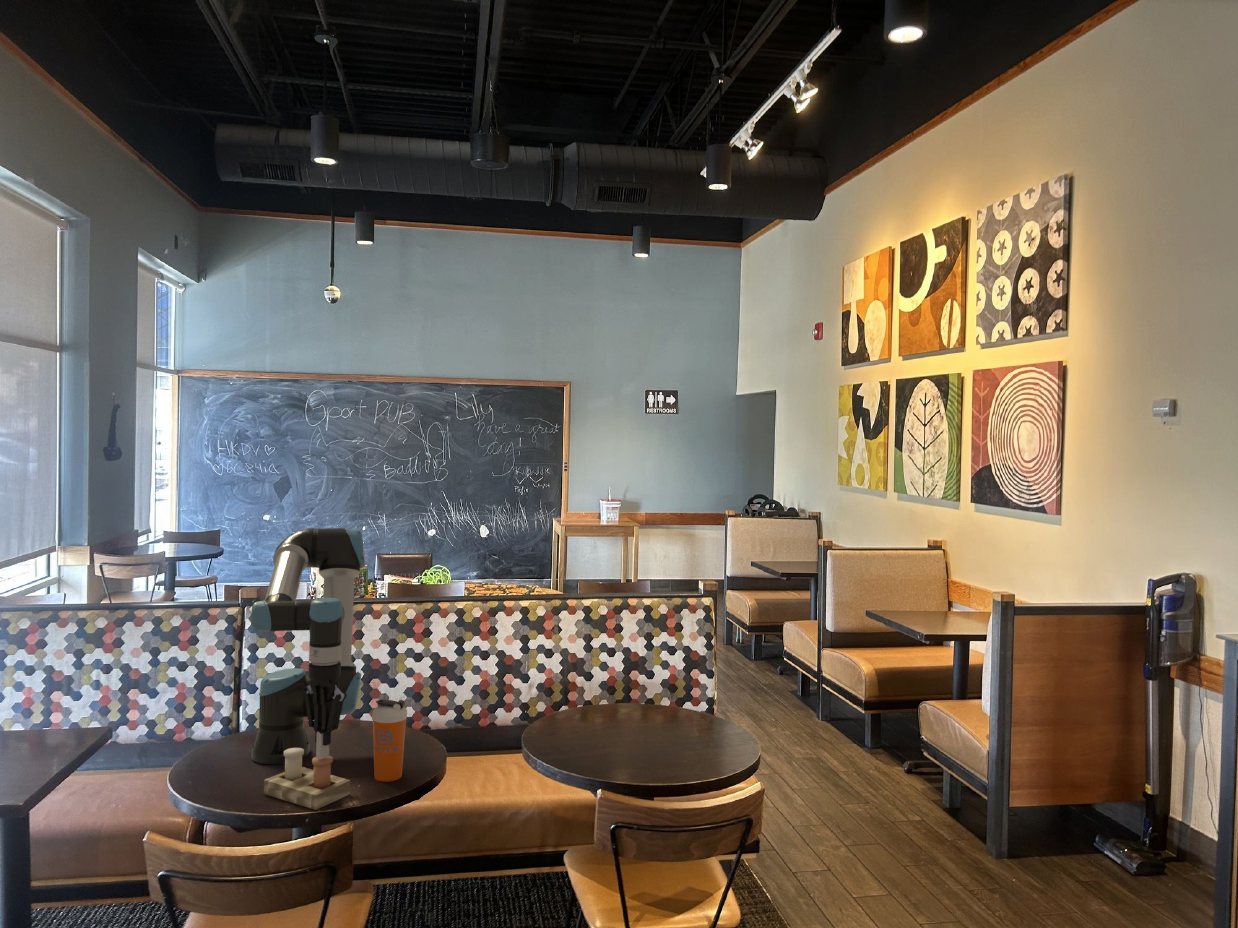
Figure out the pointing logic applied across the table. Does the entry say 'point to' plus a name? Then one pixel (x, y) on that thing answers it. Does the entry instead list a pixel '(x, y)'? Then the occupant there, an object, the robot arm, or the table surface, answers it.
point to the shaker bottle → (389, 739)
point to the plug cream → (293, 763)
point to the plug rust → (322, 772)
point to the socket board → (306, 789)
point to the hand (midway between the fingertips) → (322, 757)
